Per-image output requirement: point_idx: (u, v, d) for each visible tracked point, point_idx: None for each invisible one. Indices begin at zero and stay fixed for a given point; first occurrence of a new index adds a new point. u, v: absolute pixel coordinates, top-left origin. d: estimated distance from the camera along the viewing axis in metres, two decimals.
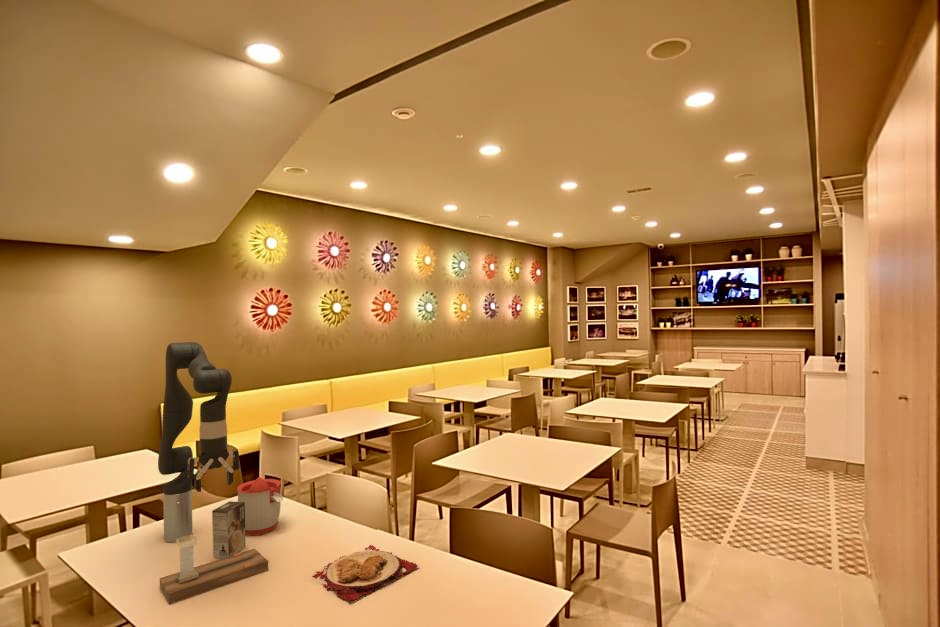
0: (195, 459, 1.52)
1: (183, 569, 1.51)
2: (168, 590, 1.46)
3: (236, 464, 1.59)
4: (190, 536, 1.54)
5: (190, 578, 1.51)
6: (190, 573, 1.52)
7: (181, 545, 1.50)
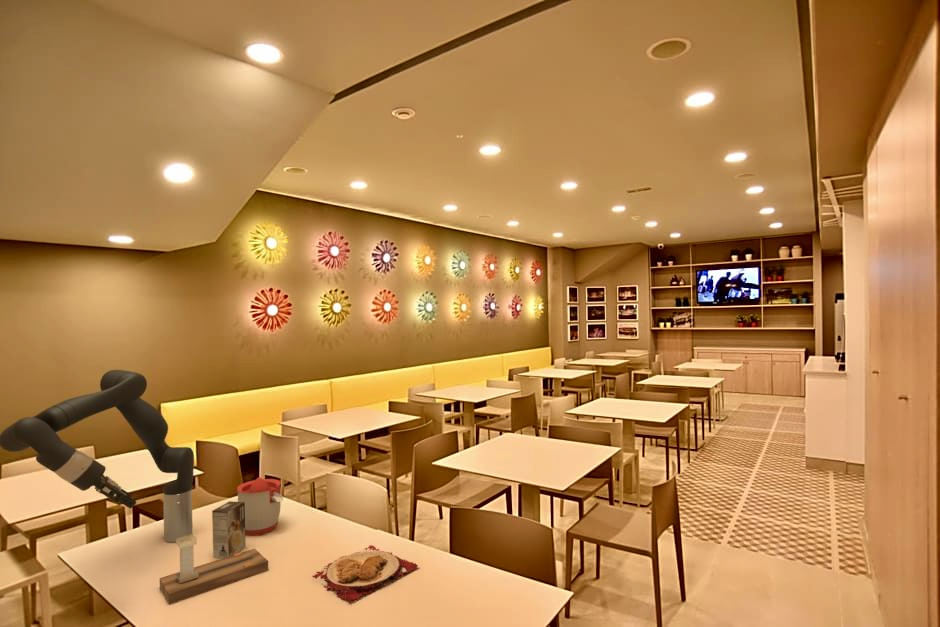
0: None
1: (183, 569, 1.51)
2: (168, 590, 1.46)
3: None
4: (190, 536, 1.54)
5: (190, 578, 1.51)
6: (190, 573, 1.52)
7: (181, 545, 1.50)
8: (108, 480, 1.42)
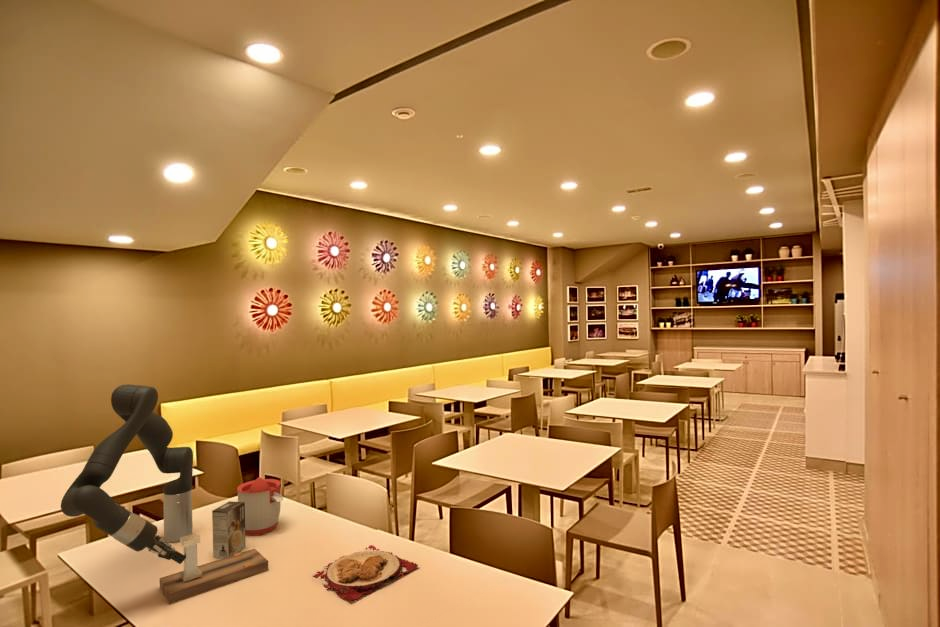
0: None
1: (187, 568, 1.52)
2: (168, 590, 1.46)
3: None
4: (194, 535, 1.55)
5: (194, 577, 1.52)
6: (194, 572, 1.53)
7: (185, 544, 1.51)
8: (161, 540, 1.47)
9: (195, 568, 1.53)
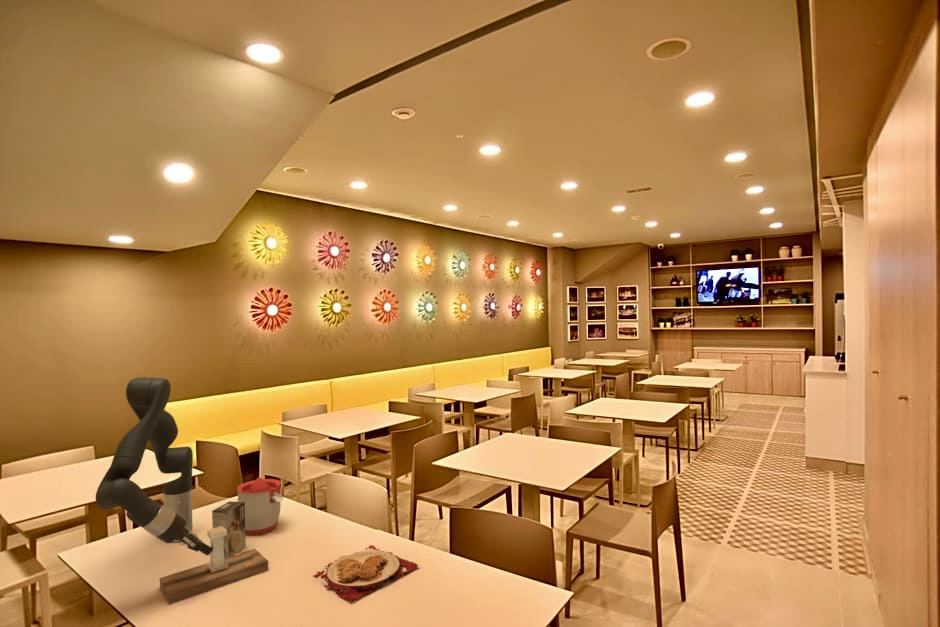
0: None
1: (214, 559, 1.57)
2: (168, 590, 1.46)
3: (194, 549, 1.51)
4: (220, 528, 1.60)
5: (221, 568, 1.57)
6: (220, 563, 1.58)
7: (212, 536, 1.56)
8: (190, 533, 1.52)
9: (221, 560, 1.58)
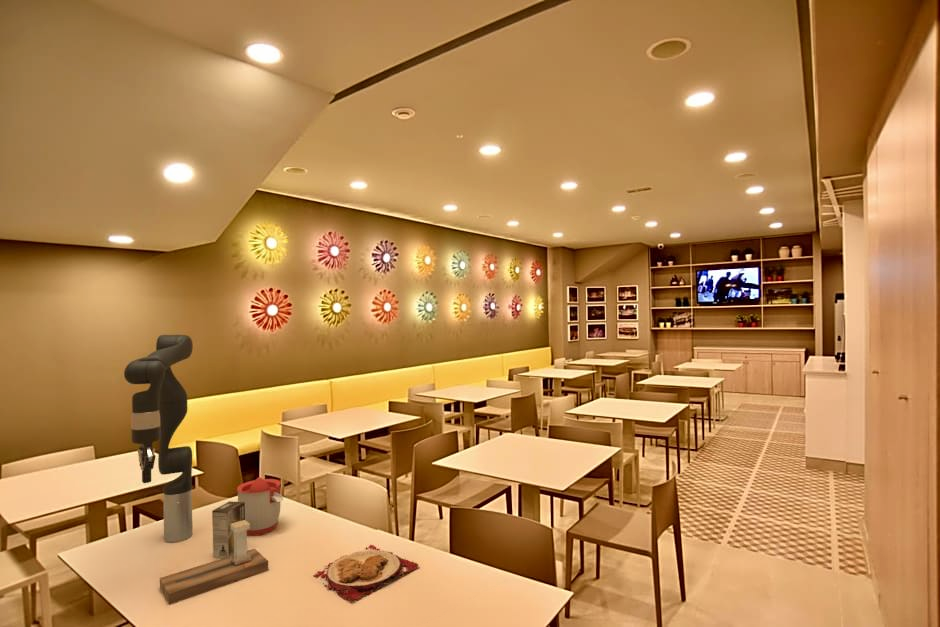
0: None
1: (238, 552, 1.61)
2: (168, 590, 1.46)
3: (143, 465, 1.53)
4: (243, 521, 1.65)
5: (244, 560, 1.62)
6: (244, 556, 1.63)
7: (236, 529, 1.60)
8: (153, 450, 1.56)
9: (245, 552, 1.63)
